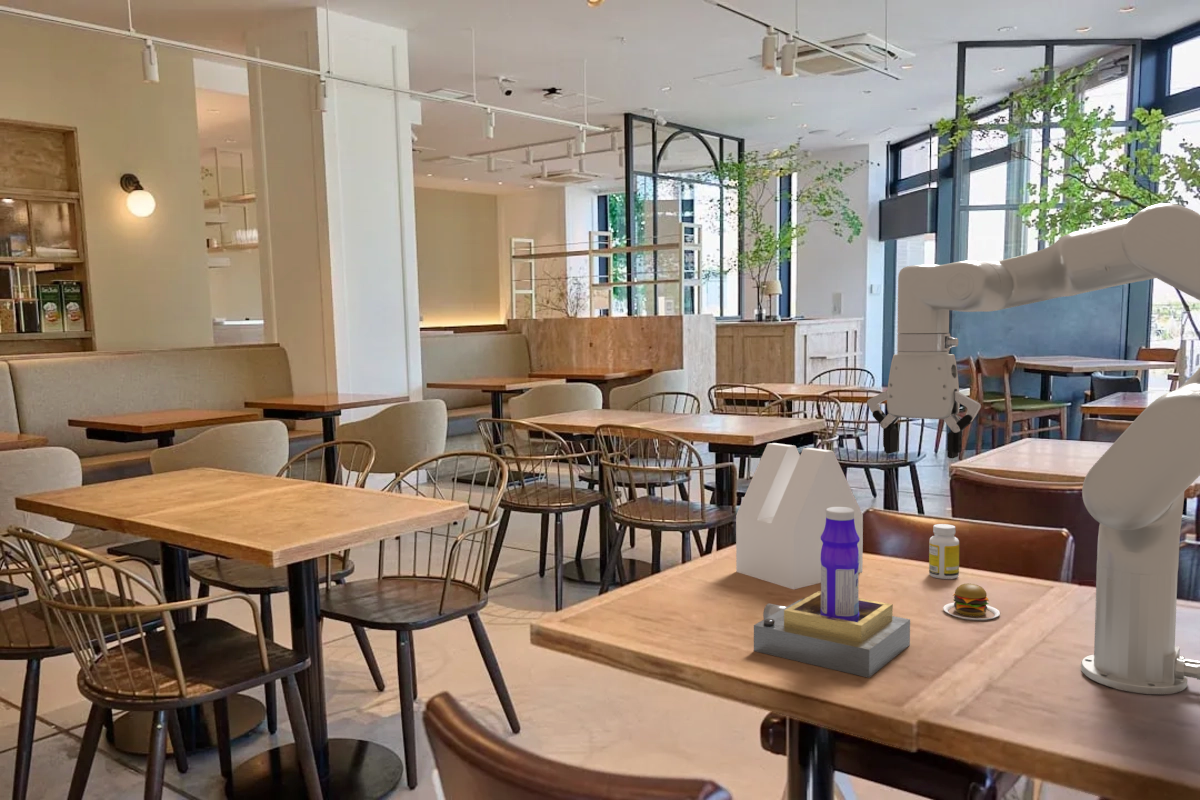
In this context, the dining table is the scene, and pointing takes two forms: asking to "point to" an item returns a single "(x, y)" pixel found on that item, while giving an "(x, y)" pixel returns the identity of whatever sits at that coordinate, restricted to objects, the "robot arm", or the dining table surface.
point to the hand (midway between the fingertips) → (921, 454)
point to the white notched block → (791, 515)
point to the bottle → (840, 565)
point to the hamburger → (971, 602)
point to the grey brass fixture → (833, 635)
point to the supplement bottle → (944, 552)
